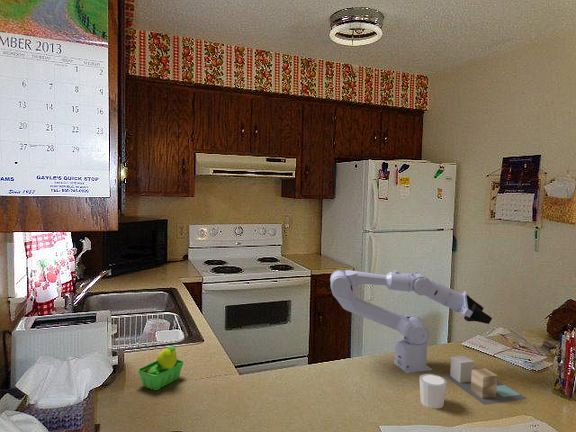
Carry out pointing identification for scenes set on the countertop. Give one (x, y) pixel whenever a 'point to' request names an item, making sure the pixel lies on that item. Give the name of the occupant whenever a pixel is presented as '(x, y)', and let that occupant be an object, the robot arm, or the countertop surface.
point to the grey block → (461, 368)
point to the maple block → (483, 383)
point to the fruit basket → (161, 370)
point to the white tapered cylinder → (432, 390)
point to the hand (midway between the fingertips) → (485, 315)
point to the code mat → (501, 396)
